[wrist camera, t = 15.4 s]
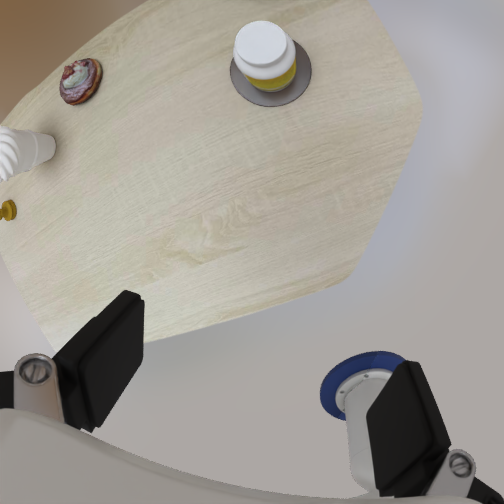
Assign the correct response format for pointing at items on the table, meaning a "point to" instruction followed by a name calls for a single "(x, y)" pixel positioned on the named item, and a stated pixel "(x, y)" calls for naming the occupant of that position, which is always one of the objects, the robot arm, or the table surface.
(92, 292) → the table surface
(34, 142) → the ice cream cone
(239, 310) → the table surface
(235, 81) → the coaster
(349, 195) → the table surface
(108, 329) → the robot arm
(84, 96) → the pastry
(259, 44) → the pill bottle
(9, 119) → the table surface
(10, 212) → the chess piece
